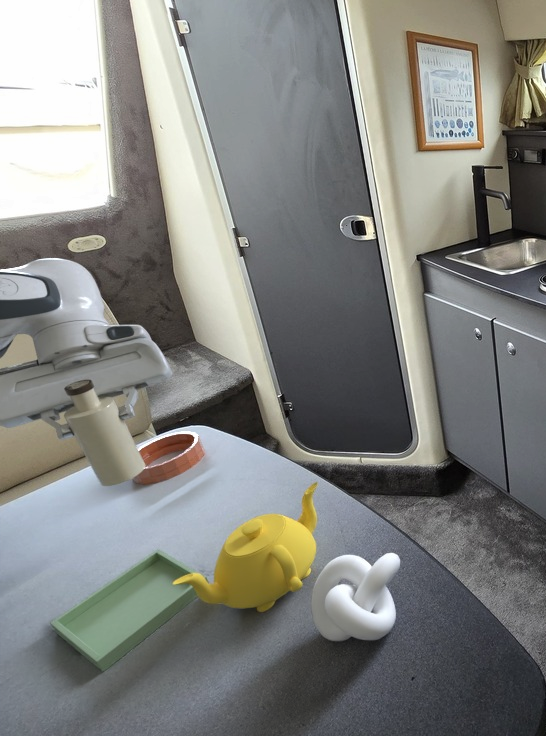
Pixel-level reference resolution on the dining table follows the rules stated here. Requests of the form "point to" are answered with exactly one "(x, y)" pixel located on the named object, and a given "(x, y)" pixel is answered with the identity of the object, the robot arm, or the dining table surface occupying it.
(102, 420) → the bottle
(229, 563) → the teapot
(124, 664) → the dining table surface
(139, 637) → the tray
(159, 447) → the ring
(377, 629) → the white knot
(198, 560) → the dining table surface
